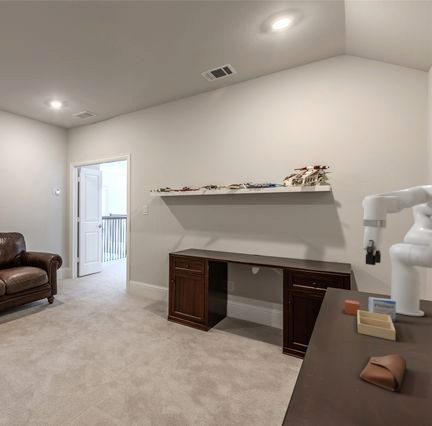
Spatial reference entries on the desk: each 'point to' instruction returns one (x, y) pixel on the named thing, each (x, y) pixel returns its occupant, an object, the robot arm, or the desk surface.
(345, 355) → the desk surface
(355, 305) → the terracotta block
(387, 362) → the sunglasses case
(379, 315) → the sorter
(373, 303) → the medicine box
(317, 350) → the desk surface
